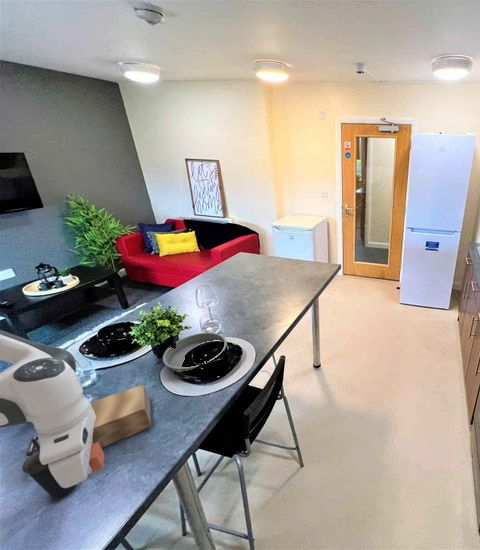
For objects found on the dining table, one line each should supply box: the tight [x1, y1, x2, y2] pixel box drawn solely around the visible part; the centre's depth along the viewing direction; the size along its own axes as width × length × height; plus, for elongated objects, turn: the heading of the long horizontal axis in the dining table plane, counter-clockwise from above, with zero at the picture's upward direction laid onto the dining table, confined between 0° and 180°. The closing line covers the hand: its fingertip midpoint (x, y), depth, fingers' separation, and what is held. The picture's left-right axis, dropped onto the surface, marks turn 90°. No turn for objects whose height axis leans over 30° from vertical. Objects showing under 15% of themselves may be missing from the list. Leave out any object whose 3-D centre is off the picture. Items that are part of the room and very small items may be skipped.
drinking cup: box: [21, 439, 78, 500], centre depth 75 cm, size 8×8×20 cm
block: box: [87, 442, 105, 477], centre depth 70 cm, size 5×5×5 cm
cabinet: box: [91, 384, 152, 448], centre depth 96 cm, size 14×13×9 cm
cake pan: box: [162, 332, 228, 373], centre depth 128 cm, size 25×25×4 cm
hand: (88, 462), depth 70 cm, fingers closed on block, 4 cm apart
